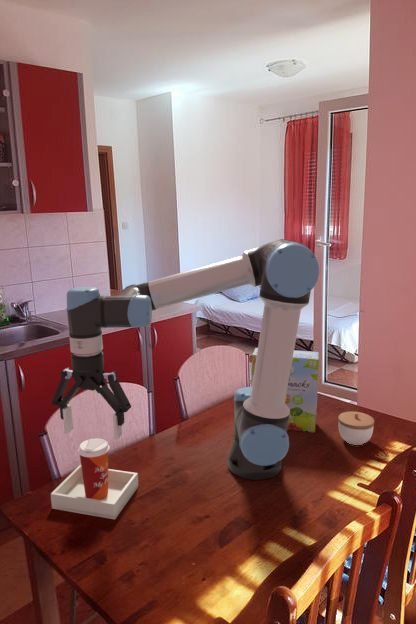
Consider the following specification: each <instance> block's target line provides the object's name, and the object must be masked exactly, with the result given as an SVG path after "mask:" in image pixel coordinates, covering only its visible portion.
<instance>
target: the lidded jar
mask: <svg viewBox="0 0 416 624" xmlns="http://www.w3.org/2000/svg"><path fill="white" fill-rule="evenodd" d="M337 418H338V431H339V434H340V436H341V438H342V439H343V440H344V442H345V441H346V442H347V443H349V444H353V445H362V444H364V443H365V444H366V443H368V442H369V441H370V440H371V437H372V435H373V433H374V426H375V419H374V417H372V416H371V415H369V414H367V413H363V412H360V411H345V412H342V413H340V414H338V417H337ZM346 442H345V443H346ZM347 443H346V444H347ZM349 444H348V445H349ZM365 444H364V445H365ZM353 445H352V446H353ZM362 446H363V445H362Z"/></svg>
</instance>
